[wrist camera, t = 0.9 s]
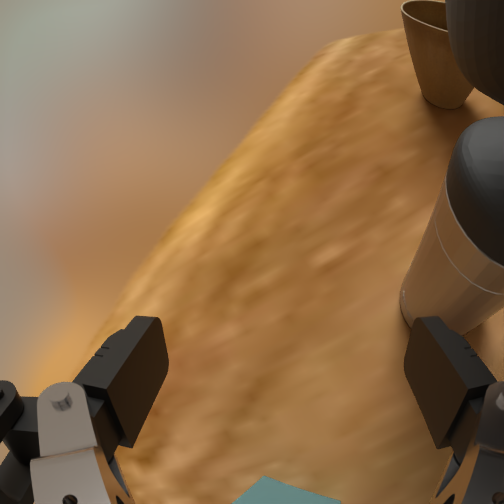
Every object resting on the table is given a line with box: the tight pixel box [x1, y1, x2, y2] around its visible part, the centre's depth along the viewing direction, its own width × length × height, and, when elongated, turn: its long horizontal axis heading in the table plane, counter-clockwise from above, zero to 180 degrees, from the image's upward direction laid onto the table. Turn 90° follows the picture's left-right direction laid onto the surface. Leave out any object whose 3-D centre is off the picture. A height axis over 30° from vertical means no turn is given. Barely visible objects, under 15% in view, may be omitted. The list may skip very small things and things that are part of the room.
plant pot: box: [401, 0, 474, 109], centre depth 34 cm, size 15×15×16 cm
